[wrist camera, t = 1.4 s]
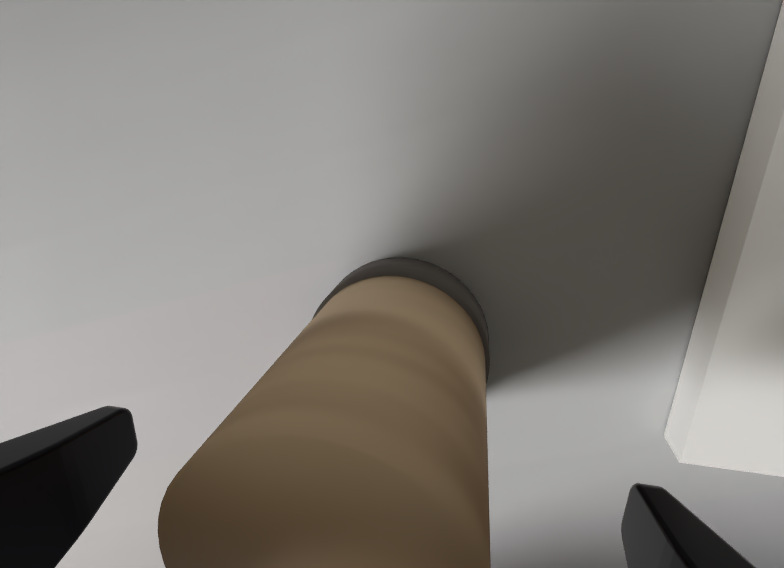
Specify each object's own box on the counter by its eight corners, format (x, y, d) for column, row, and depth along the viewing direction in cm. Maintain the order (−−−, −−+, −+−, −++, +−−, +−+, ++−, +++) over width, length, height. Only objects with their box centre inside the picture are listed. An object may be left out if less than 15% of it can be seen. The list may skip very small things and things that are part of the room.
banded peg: (480, 420, 13) (481, 733, 6) (324, 400, 13) (176, 658, 7) (497, 265, 11) (522, 459, 5) (319, 251, 12) (122, 401, 5)
